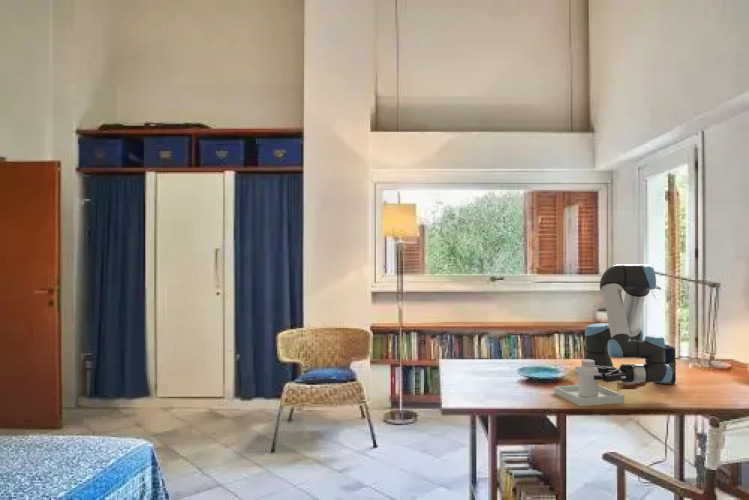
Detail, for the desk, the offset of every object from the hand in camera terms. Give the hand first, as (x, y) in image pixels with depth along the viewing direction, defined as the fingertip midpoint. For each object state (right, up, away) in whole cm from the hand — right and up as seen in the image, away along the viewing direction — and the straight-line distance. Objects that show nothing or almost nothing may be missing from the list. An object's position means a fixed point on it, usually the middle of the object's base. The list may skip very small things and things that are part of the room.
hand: (580, 373), depth 237 cm
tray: (+3, -10, 0) cm, 11 cm away
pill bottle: (+3, -10, 0) cm, 10 cm away
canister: (+48, -10, +23) cm, 54 cm away
